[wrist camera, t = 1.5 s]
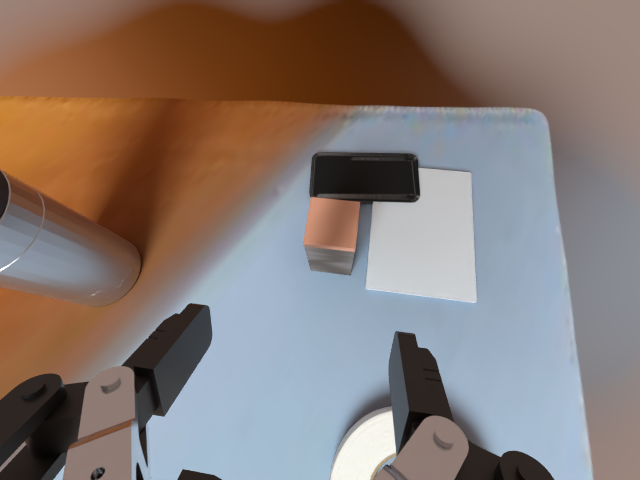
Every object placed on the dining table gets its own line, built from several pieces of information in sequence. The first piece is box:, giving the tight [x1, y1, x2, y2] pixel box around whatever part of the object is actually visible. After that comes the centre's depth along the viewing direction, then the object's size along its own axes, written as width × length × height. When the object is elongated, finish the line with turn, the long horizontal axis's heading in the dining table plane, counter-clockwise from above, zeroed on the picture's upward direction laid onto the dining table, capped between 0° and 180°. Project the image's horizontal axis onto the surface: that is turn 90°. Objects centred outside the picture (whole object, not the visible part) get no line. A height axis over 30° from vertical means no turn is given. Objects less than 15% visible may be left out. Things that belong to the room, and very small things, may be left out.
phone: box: [309, 152, 420, 204], centre depth 42 cm, size 8×1×15 cm
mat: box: [365, 168, 477, 303], centre depth 39 cm, size 13×18×1 cm
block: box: [303, 197, 360, 275], centre depth 34 cm, size 5×5×10 cm
